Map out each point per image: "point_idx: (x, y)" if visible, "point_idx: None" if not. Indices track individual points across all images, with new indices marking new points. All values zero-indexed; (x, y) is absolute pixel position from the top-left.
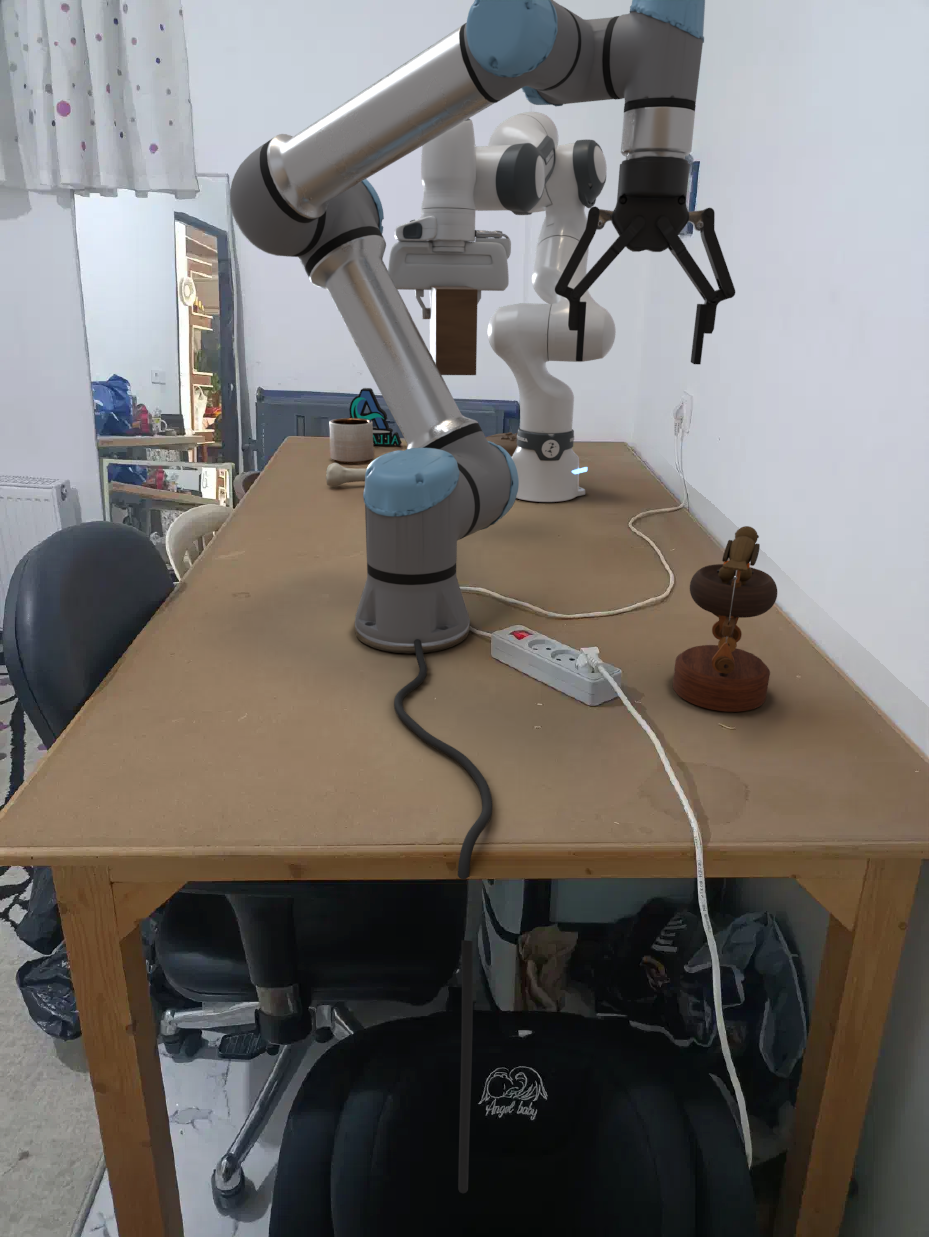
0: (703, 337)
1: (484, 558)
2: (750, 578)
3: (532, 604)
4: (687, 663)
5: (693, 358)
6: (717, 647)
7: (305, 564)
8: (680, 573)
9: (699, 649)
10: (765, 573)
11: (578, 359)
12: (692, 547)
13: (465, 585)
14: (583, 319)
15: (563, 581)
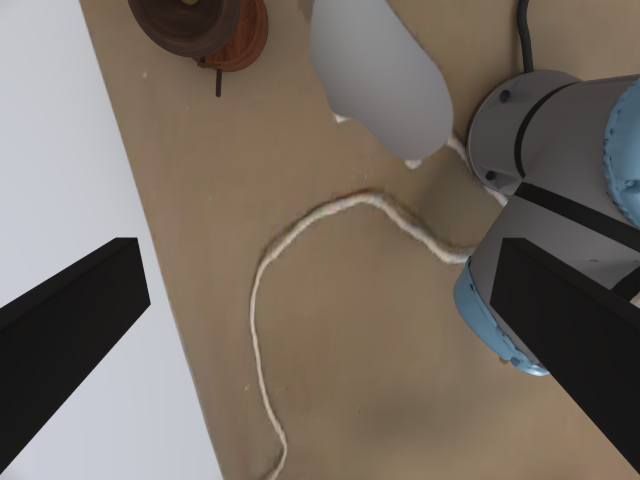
0: (53, 276)
1: (438, 341)
2: (158, 14)
3: (396, 224)
4: (252, 1)
5: (133, 265)
6: (217, 54)
7: None
8: (242, 326)
9: (237, 45)
10: (134, 4)
11: (519, 240)
12: (226, 396)
13: (461, 266)
14: (617, 311)
15: (361, 289)
